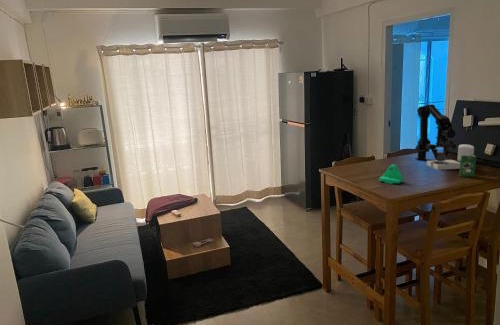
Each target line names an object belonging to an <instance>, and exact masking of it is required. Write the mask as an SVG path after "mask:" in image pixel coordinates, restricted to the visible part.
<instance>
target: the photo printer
mask: <svg viewBox="0 0 500 325" xmlns="http://www.w3.org/2000/svg"><path fill="white" fill-rule="evenodd" d="M457 147H458V148H457V162H461V155H466V156H475V155H474V154H475V147H474V146H473V145H472V144H468V143H467V144H459V145H458V146H457Z"/></svg>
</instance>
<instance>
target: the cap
mask: <svg viewBox="0 0 500 325" xmlns="http://www.w3.org/2000/svg"><path fill="white" fill-rule="evenodd" d="M445 156H446V153H444V151H437V158H436V159H435V158H434V161H435V160H437V161H445V160H446V158H445ZM446 157H447V156H446Z"/></svg>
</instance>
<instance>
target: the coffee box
mask: <svg viewBox="0 0 500 325" xmlns="http://www.w3.org/2000/svg"><path fill="white" fill-rule="evenodd" d="M459 162H460V169H459V173H458V176H459V177H462V178H463V177H464V178H465V177H466V178H467V177H468V178H469V177H470V178H471V177H472V178H473V177H475V172H476V163H477V156H476V155H474V156H466V155H461V161H459Z"/></svg>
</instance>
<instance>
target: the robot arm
mask: <svg viewBox="0 0 500 325" xmlns="http://www.w3.org/2000/svg"><path fill="white" fill-rule="evenodd" d="M417 115H418V117H419V119H420V124H419V125H420V126H419V127H420V128H419V129H420V130H419V131H420V132H419V133H420V134H419V136H420V138H419V140H418V141H417V145H416V146H415V148H414V152H417V156H416V157H415V160H417V161H420V162H421V161H429V159H428V158H427V152H428V153H429V152H430V150H431V152H432V154H433V157H434V160H435V159H436V158H437V152H439V149H440V148H442V149H443V152H444V153H446V156H445V159H446V158H447V156H448V154H449V153H450V151H451V150H453V149H458V148H457V147H458V145H457V143H455V141H454V140H449V139H453V138H454V137H456V134H457V133H456V131H455V129H454V128H453V125H452V123H451V119H450V118H449V116H446V115H444V114H443V113H441V112H440V110H438V108H437V107H436V105H435V104H426V105H423V106H418V108H417ZM430 116H432V117H433V118H434V119H435V121H434V122H435V124H436V126H437V127H436V129H437V134H436V136H435V139H436V143H435V144H433V143H431V140H430V139H429V138H428V134H429V133H428V129H429V128H428V124H429V123H428V121H429V120H428V119H429V117H430ZM438 148H439V149H438Z"/></svg>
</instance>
